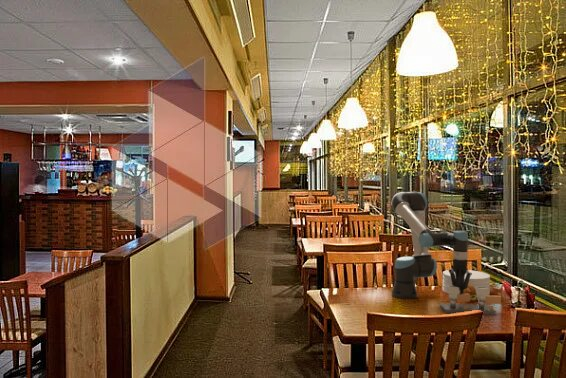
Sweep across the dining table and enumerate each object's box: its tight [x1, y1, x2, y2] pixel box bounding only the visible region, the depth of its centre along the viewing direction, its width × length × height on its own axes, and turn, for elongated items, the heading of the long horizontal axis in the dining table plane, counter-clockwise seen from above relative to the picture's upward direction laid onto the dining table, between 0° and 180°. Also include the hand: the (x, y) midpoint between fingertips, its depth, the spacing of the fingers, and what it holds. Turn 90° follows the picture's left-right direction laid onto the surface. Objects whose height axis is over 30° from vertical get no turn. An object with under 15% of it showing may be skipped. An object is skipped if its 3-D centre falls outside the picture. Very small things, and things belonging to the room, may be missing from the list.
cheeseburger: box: [464, 285, 477, 302], centre depth 273 cm, size 10×11×10 cm
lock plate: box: [439, 299, 497, 316], centre depth 251 cm, size 26×12×6 cm, turn 85°
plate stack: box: [442, 269, 491, 295], centre depth 294 cm, size 28×28×12 cm
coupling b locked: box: [476, 287, 502, 305], centre depth 250 cm, size 12×4×9 cm, turn 85°
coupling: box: [446, 286, 471, 303], centre depth 253 cm, size 12×4×9 cm, turn 104°
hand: (459, 300), depth 256 cm, fingers closed
